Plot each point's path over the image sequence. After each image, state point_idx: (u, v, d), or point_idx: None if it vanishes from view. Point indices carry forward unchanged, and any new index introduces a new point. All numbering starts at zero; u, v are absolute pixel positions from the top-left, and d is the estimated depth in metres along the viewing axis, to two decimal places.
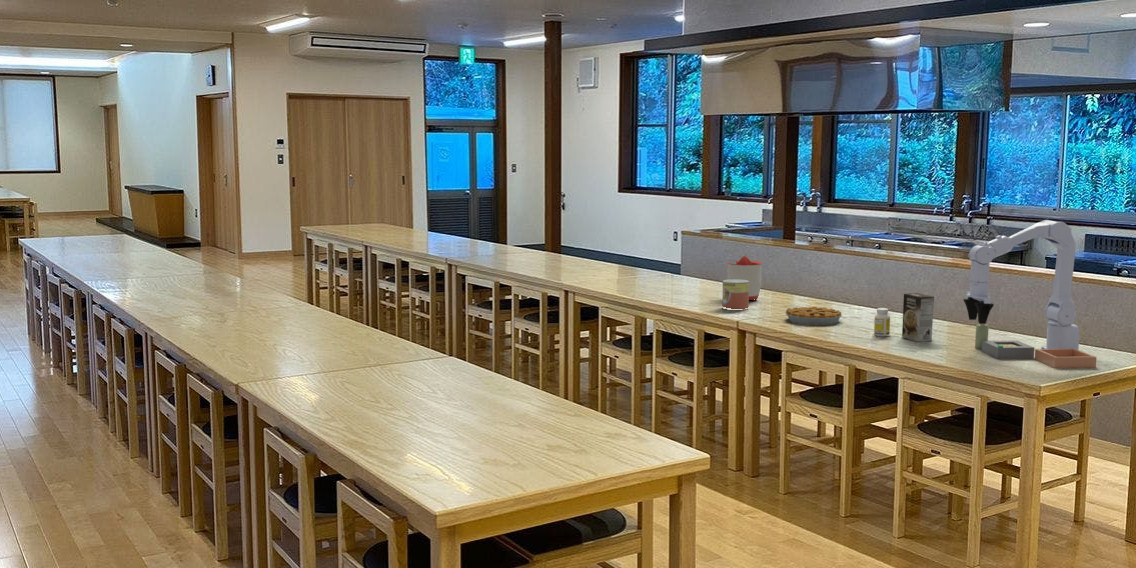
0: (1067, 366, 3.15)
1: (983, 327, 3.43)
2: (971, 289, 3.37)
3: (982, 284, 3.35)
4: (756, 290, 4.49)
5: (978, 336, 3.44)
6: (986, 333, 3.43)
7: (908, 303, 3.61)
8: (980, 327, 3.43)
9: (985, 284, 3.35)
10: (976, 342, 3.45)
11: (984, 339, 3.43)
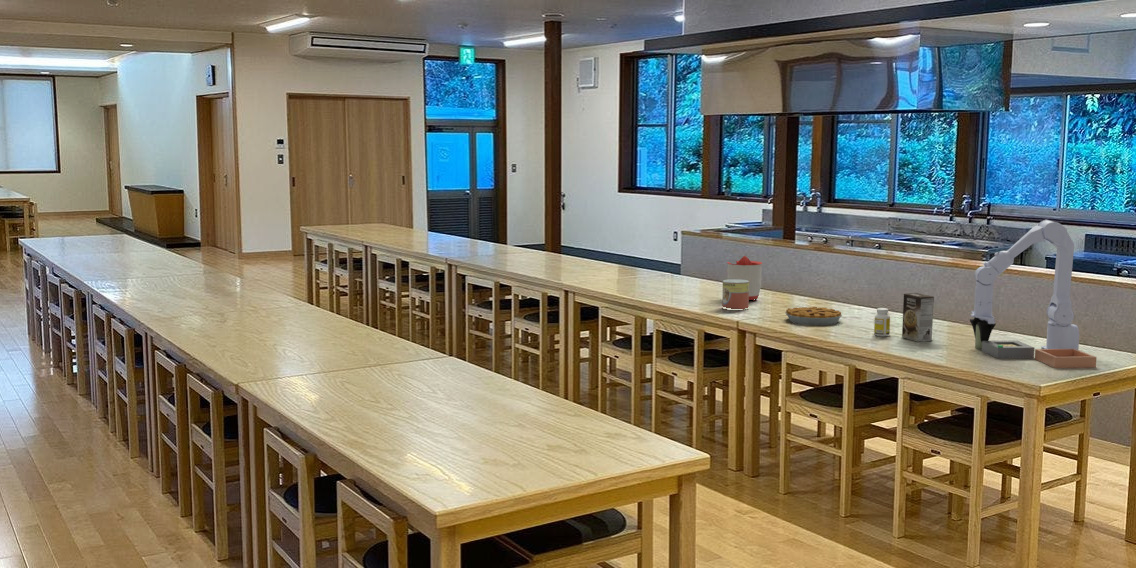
0: (1067, 366, 3.15)
1: None
2: (975, 309, 3.43)
3: (986, 304, 3.41)
4: (756, 290, 4.49)
5: (978, 336, 3.44)
6: None
7: (908, 303, 3.61)
8: None
9: (989, 304, 3.41)
10: (976, 342, 3.45)
11: None
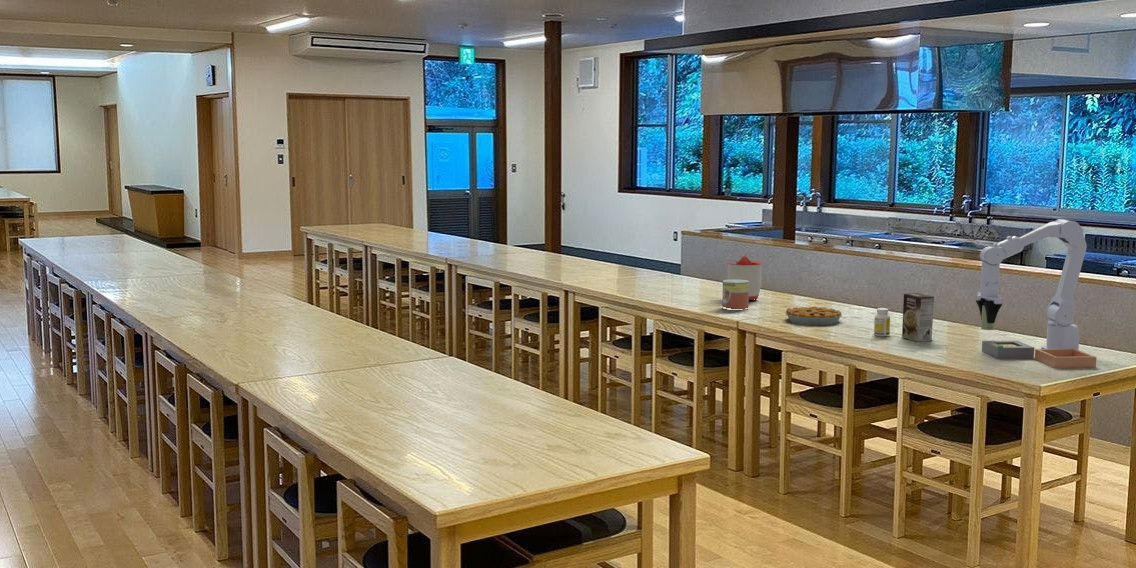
0: (1067, 366, 3.15)
1: None
2: (982, 290, 3.40)
3: (992, 285, 3.38)
4: (756, 290, 4.49)
5: (985, 317, 3.41)
6: None
7: (908, 303, 3.61)
8: None
9: (995, 285, 3.38)
10: (982, 323, 3.42)
11: None
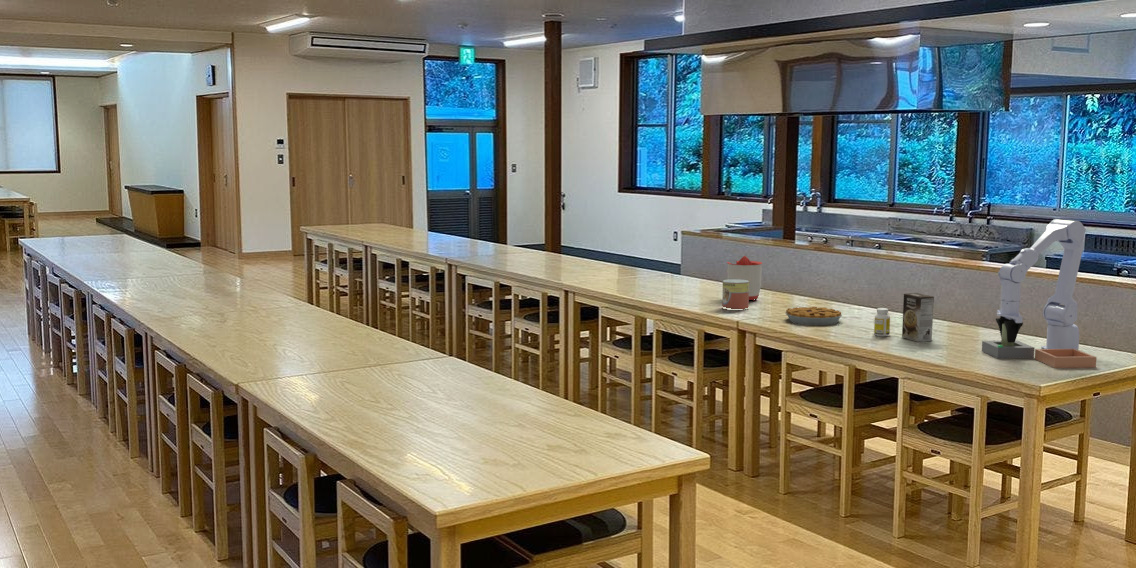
0: (1067, 366, 3.15)
1: None
2: (1002, 308, 3.32)
3: (1013, 303, 3.30)
4: (756, 290, 4.49)
5: (1005, 335, 3.33)
6: None
7: (908, 303, 3.61)
8: None
9: (1016, 303, 3.30)
10: (1002, 342, 3.34)
11: None
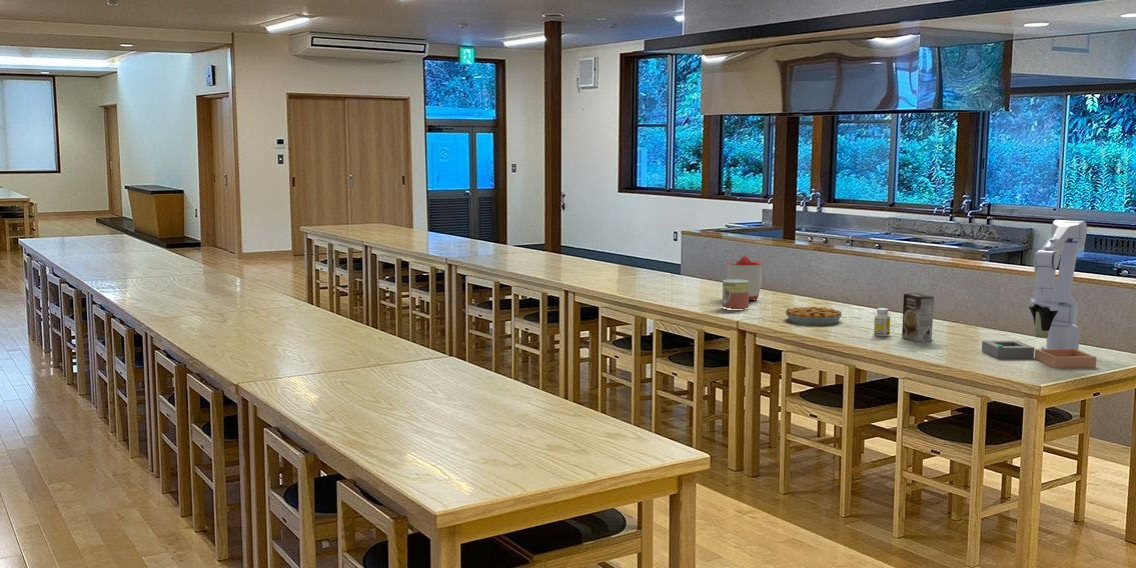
0: (1067, 366, 3.15)
1: None
2: (1036, 295, 3.24)
3: (1048, 290, 3.21)
4: (756, 290, 4.49)
5: (1039, 324, 3.24)
6: None
7: (908, 303, 3.61)
8: None
9: (1051, 290, 3.21)
10: (1036, 330, 3.25)
11: None
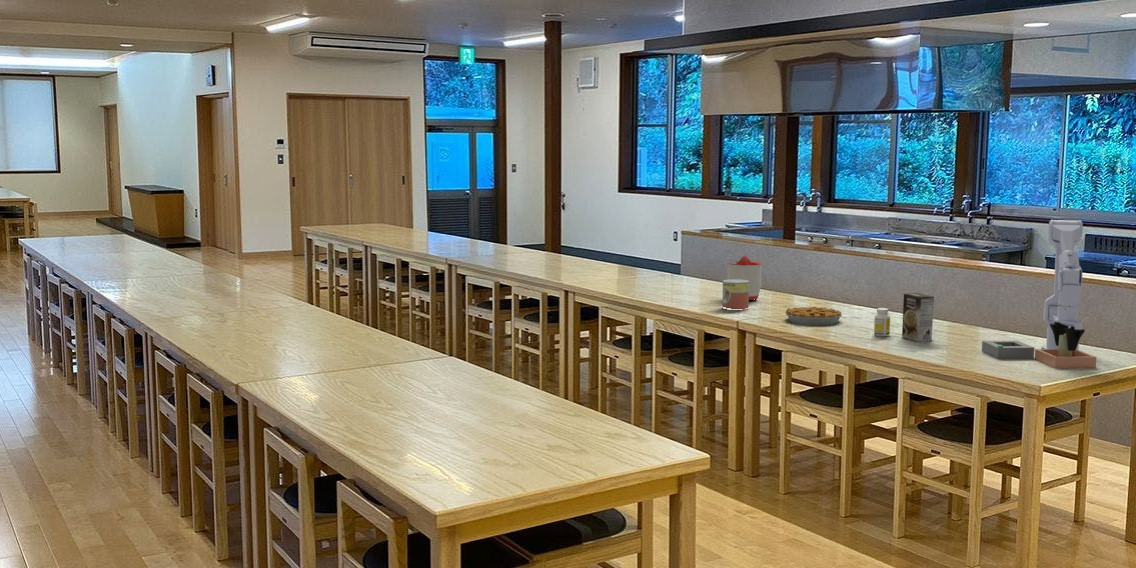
0: (1067, 366, 3.15)
1: None
2: (1059, 314, 3.19)
3: (1072, 309, 3.16)
4: (756, 290, 4.49)
5: (1062, 347, 3.19)
6: None
7: (908, 303, 3.61)
8: (1064, 338, 3.19)
9: (1075, 309, 3.16)
10: (1059, 354, 3.21)
11: (1068, 351, 3.19)
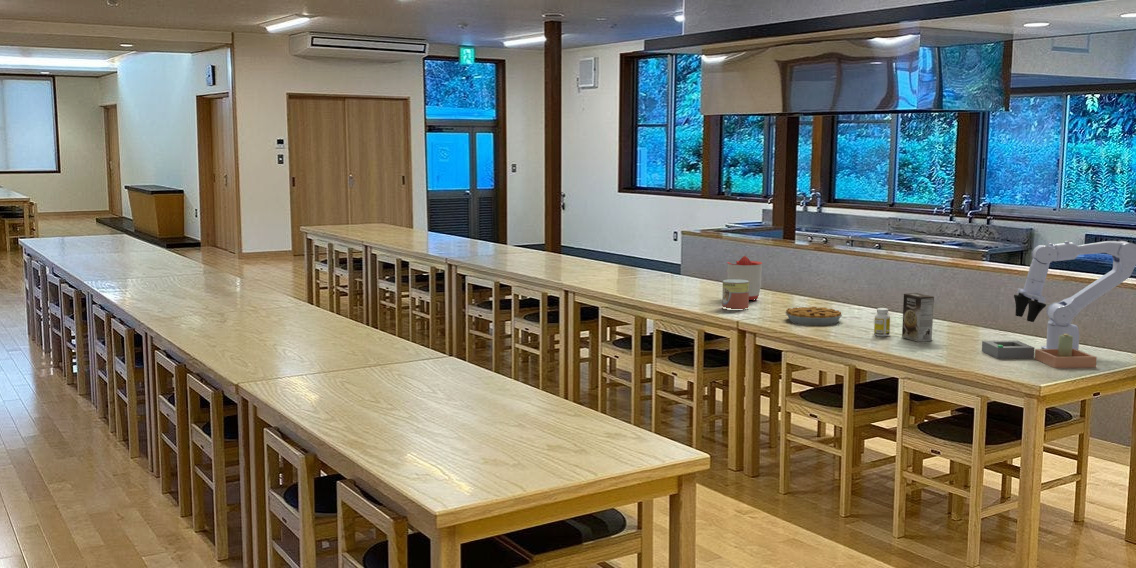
0: (1067, 366, 3.15)
1: (1067, 338, 3.18)
2: (1026, 286, 3.40)
3: (1039, 283, 3.37)
4: (756, 290, 4.49)
5: (1062, 348, 3.19)
6: (1070, 345, 3.19)
7: (908, 303, 3.61)
8: (1064, 338, 3.19)
9: (1041, 284, 3.37)
10: (1059, 354, 3.21)
11: (1068, 351, 3.19)
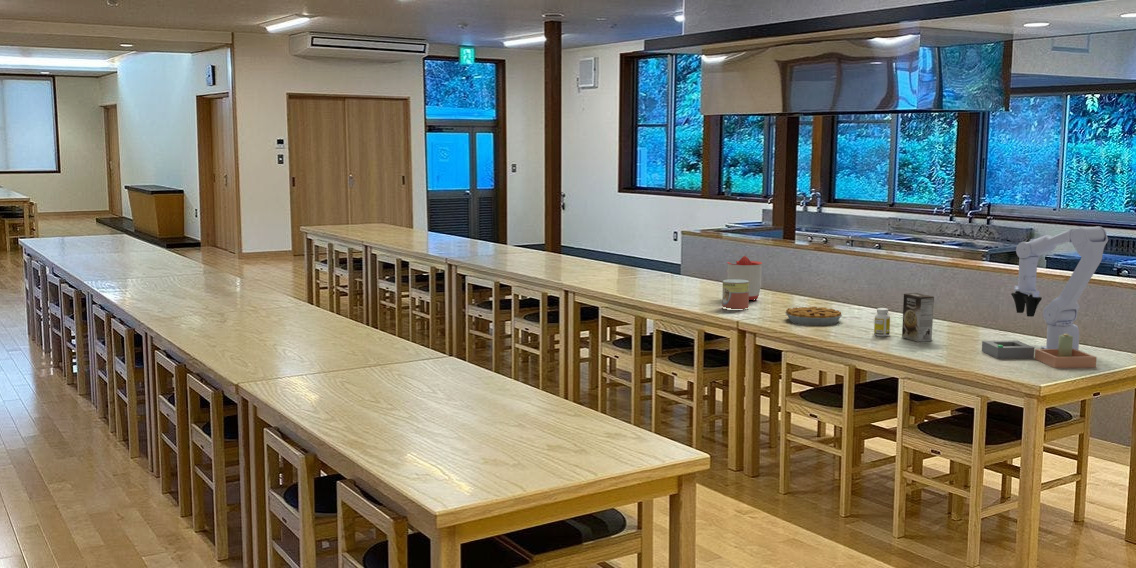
0: (1067, 366, 3.15)
1: (1067, 338, 3.18)
2: (1019, 283, 3.52)
3: (1030, 278, 3.49)
4: (756, 290, 4.49)
5: (1062, 348, 3.19)
6: (1070, 345, 3.19)
7: (908, 303, 3.61)
8: (1064, 338, 3.19)
9: (1033, 278, 3.49)
10: (1059, 354, 3.21)
11: (1068, 351, 3.19)
